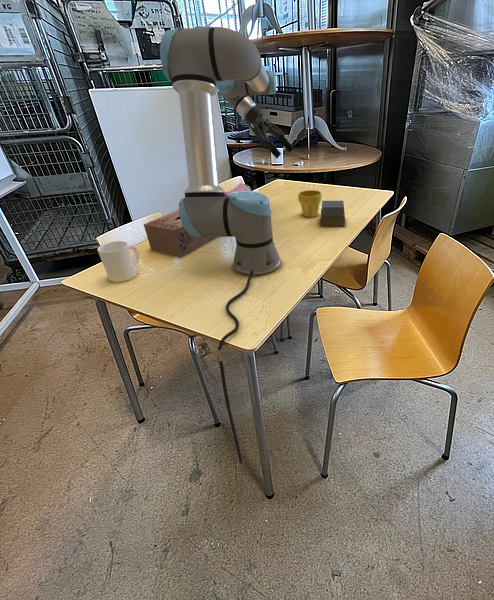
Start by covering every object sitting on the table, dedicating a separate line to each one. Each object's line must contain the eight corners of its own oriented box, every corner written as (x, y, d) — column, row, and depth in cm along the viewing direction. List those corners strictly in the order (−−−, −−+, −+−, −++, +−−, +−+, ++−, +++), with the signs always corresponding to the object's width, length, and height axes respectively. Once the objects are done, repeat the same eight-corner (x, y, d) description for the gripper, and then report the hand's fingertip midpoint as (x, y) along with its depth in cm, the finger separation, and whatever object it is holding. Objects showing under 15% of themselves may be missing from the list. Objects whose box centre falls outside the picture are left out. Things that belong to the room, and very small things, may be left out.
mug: (134, 263, 114) (124, 235, 108) (151, 268, 111) (143, 238, 105) (103, 279, 105) (91, 249, 99) (121, 284, 102) (110, 254, 96)
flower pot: (295, 213, 154) (294, 191, 148) (315, 209, 157) (315, 188, 152) (304, 220, 146) (304, 197, 141) (325, 216, 149) (325, 194, 144)
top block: (343, 216, 136) (344, 207, 134) (321, 217, 137) (321, 207, 135) (343, 209, 144) (343, 200, 142) (322, 209, 144) (322, 200, 142)
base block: (344, 226, 138) (345, 217, 136) (320, 226, 139) (320, 217, 137) (343, 218, 146) (344, 209, 144) (321, 218, 147) (321, 209, 145)
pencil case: (234, 214, 154) (231, 194, 150) (217, 212, 157) (213, 193, 152) (254, 201, 171) (252, 182, 166) (238, 199, 174) (235, 181, 169)
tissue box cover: (180, 257, 117) (174, 230, 112) (151, 250, 123) (143, 224, 117) (226, 231, 137) (222, 207, 131) (198, 226, 142) (193, 203, 137)
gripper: (259, 116, 149) (291, 154, 153) (229, 123, 130) (267, 165, 134) (268, 103, 145) (302, 142, 148) (239, 107, 125) (278, 151, 129)
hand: (285, 153), depth 141 cm, fingers open, 13 cm apart
